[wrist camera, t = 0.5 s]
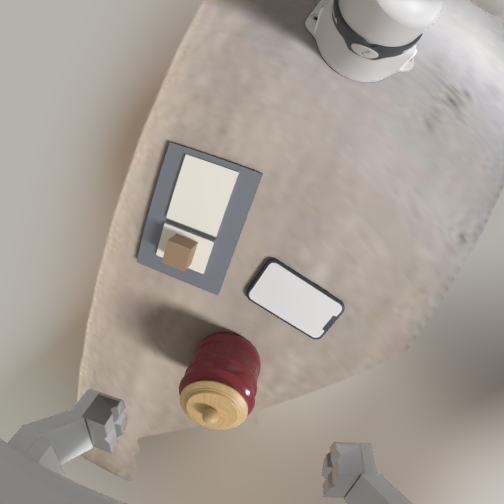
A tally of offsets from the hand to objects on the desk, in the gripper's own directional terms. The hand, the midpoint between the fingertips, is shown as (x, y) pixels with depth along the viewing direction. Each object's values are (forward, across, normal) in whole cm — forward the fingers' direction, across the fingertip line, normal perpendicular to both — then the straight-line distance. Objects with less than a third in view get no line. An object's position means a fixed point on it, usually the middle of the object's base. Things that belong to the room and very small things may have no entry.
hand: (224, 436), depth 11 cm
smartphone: (+44, -6, +13) cm, 47 cm away
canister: (+44, +4, +29) cm, 53 cm away
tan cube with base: (+43, +14, +7) cm, 45 cm away
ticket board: (+44, +13, +2) cm, 46 cm away
